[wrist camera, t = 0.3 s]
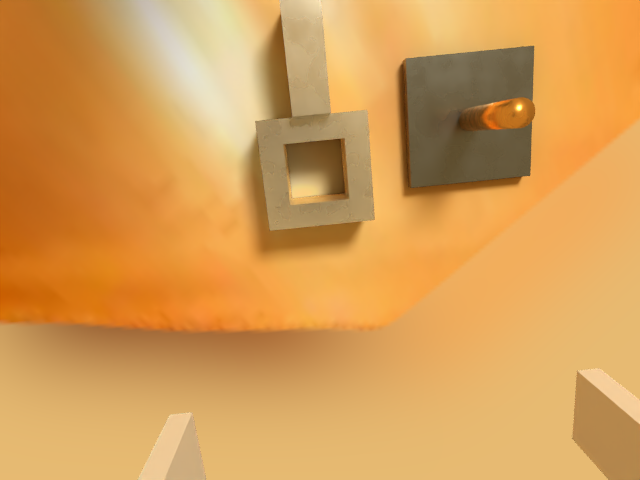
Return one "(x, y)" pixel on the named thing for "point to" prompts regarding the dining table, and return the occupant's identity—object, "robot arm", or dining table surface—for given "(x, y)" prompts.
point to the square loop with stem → (313, 131)
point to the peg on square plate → (469, 116)
